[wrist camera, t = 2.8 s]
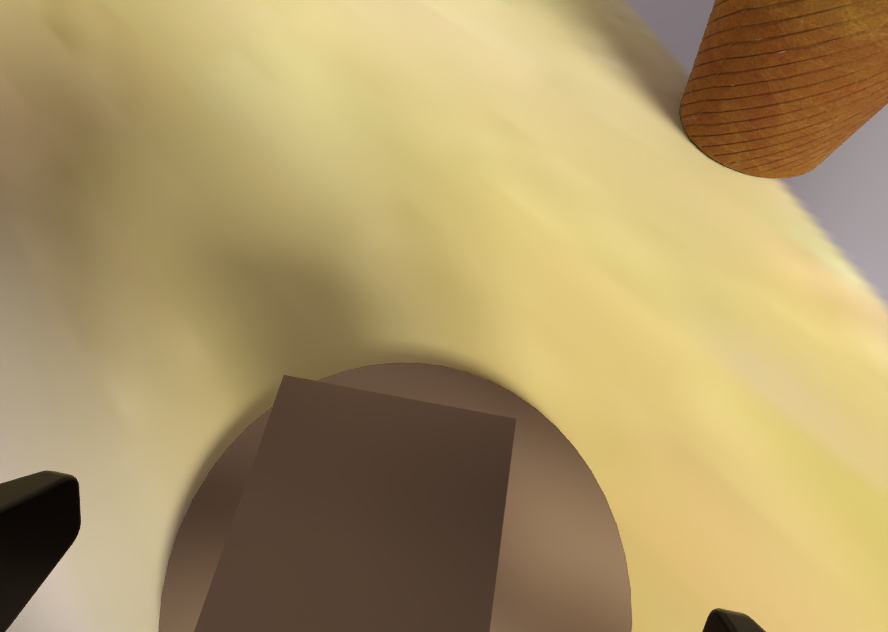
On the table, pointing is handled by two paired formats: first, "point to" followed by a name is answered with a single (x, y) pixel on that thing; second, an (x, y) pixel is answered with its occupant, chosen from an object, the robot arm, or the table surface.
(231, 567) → the walnut lid
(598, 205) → the table surface
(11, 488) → the robot arm
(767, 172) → the disposable coffee cup
